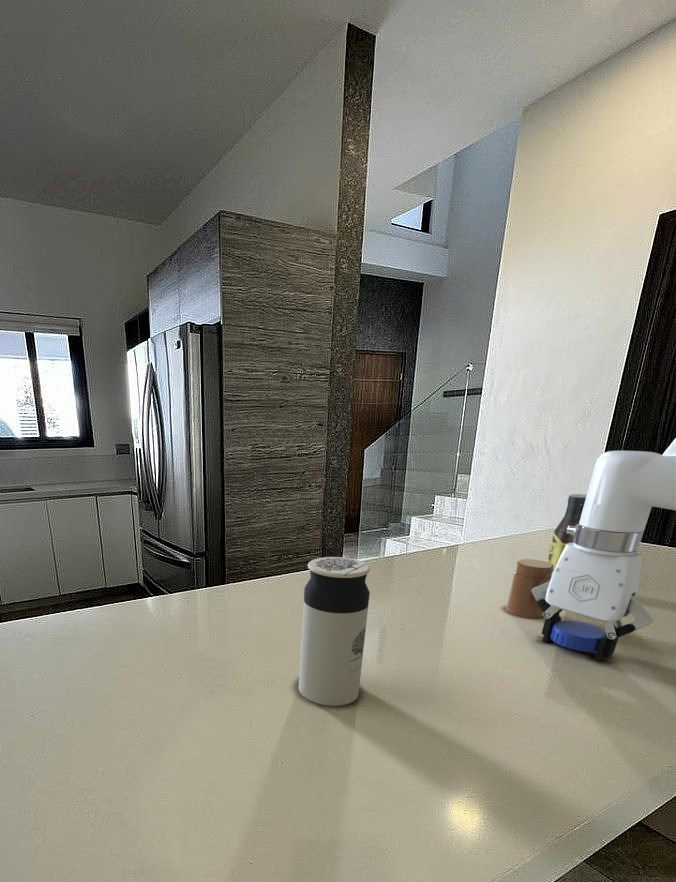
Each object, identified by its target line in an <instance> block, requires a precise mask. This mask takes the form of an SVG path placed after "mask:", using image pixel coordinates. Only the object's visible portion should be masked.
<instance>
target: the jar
mask: <svg viewBox="0 0 676 882" xmlns="http://www.w3.org/2000/svg"><path fill="white" fill-rule="evenodd" d="M515 567H516V568H515V570H514V572H513V576H512V581H511V585H510V589H509V594H508V599H507V604H506V608H505V611H506V612H507V613H509V614H510V615H512V616H516V617H519V618H523V619H540V618H542V617H543V612H542V610H541V609H540V607H539V606H538V604H537V600H536V599H535V597H534V595H533V594H532V591H531V590H532V589H533V588H535V587H537V586H539V585H542V584H544V583H546V582H549V581H550V580H551V577H552V576H551V575H552V572H553V570H554V569H553V567H554V565H553V564H551V563H548V562H547V561H546V560H545V561H544V560H541V559H533V558H532V559H531V558H523V559H522V558H521V559H519V560H517V561H516V566H515ZM546 593H547V591H546Z"/></svg>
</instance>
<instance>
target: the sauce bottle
mask: <svg viewBox="0 0 676 882" xmlns="http://www.w3.org/2000/svg"><path fill="white" fill-rule="evenodd" d="M586 496H587V494H584V493H583V494H582V493H574V494H569V495H568V498H567V506H566V510H565V513H564V516H563V517H562V519H561V520H560V522H559V523H558V525H557V526H556V527H555V529H554V530H553V533H552V537H551V542H550V545H549V549H548V554H547V557H546V562H548V563H551V564H553V565H554V567H553V569H554V570H555V567H556V565H557V562H558V560H559V558H560V556H561V554H562V552H563V550H564V548H565V546H566V544H568V543H573V542H574V541H573V536H572V535H570V534H567V533H566V530H567V528H568V526H575V525H576V526H577V524H579V522H580V518H581V514H582V510H583V507H584V503H585V499H586ZM554 570H553V572H554ZM553 572H552V575H553ZM552 575H551V576H552Z"/></svg>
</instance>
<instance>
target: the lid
mask: <svg viewBox="0 0 676 882" xmlns="http://www.w3.org/2000/svg"><path fill="white" fill-rule="evenodd" d="M605 634H606V631H605V629H602V628H601V627H599V626H597V625H593V624H591V623H587V622H583V621H576V620H570V619H569V620H568V619H567V620H565V619H564V620H563V619H562V620H561V621H557V622H555V623H554V626H553V627H552V631H551V636H550V637H551V639H552V641H553V642H554V643H555V644H557V645H559V646H561V647H564V648H567V649H570V650H574V651H579V652H586V653H596V651H597V648H598V645H599V642H600V639H601V637H603V636H605Z"/></svg>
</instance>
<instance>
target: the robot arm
mask: <svg viewBox="0 0 676 882" xmlns="http://www.w3.org/2000/svg"><path fill="white" fill-rule="evenodd" d="M586 495H587V496H586V499H585V503H584V507H583V510H582V514H581V518H580V522H579V524H577V526H576V525H575V526H568V528H567V530H566V533H567V534H570V535H572V536H573V541H574V542H573V543H568V544H566V546H565V548H564V550H563V552H562V554H561V556H560V558H559V560H558V562H557V565H556V567H555V570H554V572H553V575H552V577H551V580H550V581H549V582H546V583H544V584H542V585H539V586H537V587H535V588H533V589H532V590H531V591H532V594H533V595H534V597H535V599H536V600H537V604H538V606H539V607H540V609H541V610H542V612H543V615H542V617H543V618H544V622H543V627H542V630H541V634H542V635H543V637H542V639H541V640H542V643H546V644H548V643H550V642H552V641H553V640H552V639H551V637H550V636H551V631H552V627H553V626H554V623H555V622H557V621H562V620H563V619H562V616H561V615H560V614H561V613H562V612H563V611H566V612H568V613H573V614H576V615H578V616H583V617H586V618H589V619H593V620H596V621H601V622H602V624H603V627H604V631H605V632H606V634H605V636H603V637H601V639H600V642H599V645H598V648H597V651H596V652H595V656H594V658H593V659H594V660H595V661H596V662H598V663H599V662H602V661H603V660H605V659H607V658H611V657H612V656H613V654H614V653H615V650H616V647H617V644H618V641H619V638H621V637H623V636H626V635H629V634H631V633H633V632H636V631H638V630H640V629H642V628H645V627H647V626H649V625H651V624H653V623H654V619H653V617H652V616H651V615H650V613H648V611H647V610H646V609H645V608H644V607H643V606H642V604H641V603H640V602H639V600H638V599H637V594H638V589H639V585H640V580H641V579H640V578H641V571H642V563H643V561H642V560H643V556H642V555H643V554H642V553H640V552H638V550H639V547H640V544H641V541H642V538H643V535H644V532H645V529H646V526H647V523H648V519H649V517H650V514H651V510H652V508H654V507H655V508H660V509H664V510H665V509H666V510H672V511H676V437H675V438H674V439H673V441H672V442H671V443H670V445H669V446H668V447H667V448H666V449H665V451H663V453H662V454H661V453H658V452H653V451H645V450H644V451H643V450H642V451H641V450H608V451H605V452H603V453H601V455H600V456H598V457H597V459H596V461H595V464H594V466H593V470H592V474H591V477H590V481H589V484H588V489H587V492H586ZM546 591H547V593H546ZM630 614H631V615H632V617H634V620H633V621H631V622H629V623H627V624H624V625H623V622H622V618H624V617H628V616H629V615H630Z"/></svg>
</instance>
